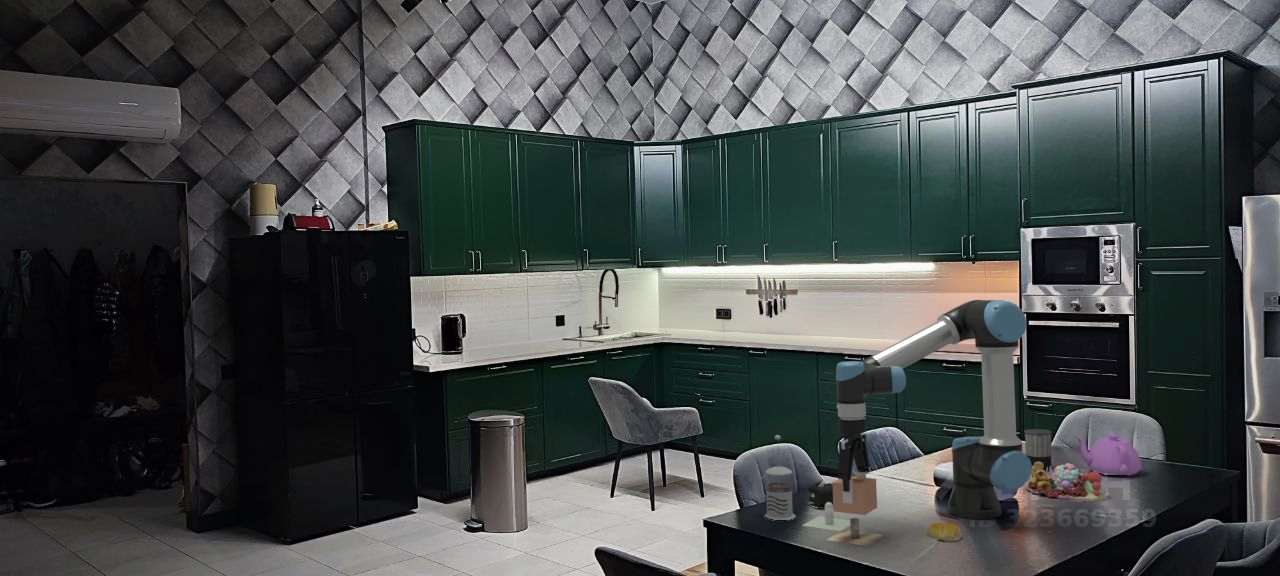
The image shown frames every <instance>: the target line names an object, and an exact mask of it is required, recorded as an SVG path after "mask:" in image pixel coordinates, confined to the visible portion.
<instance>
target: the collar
mask: <svg viewBox="0 0 1280 576" xmlns="http://www.w3.org/2000/svg"><path fill="white" fill-rule="evenodd" d="M851 479H852V480H853V504H849V503H843V491H842V479H838V478H837V480H834V481H832V483H831V484H833V513H843V514H844V513H845V514H851V515H852V514H853V515H858V516H859V515H861V516H866V515H868V514H870V513H871V512H873V511H874V510H875V509H877V508H878V495H877V478H871V477H866V478H862V477H856V476H852V475H851Z"/></svg>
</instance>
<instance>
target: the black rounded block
mask: <svg viewBox="0 0 1280 576" xmlns="http://www.w3.org/2000/svg"><path fill="white" fill-rule="evenodd" d="M807 489H808V493H810V494H812V495H813V496H811V495H809V496H808V501H809V502H810V503H809V506H810V505H812V506H815V507H818V508H817V509H820V508H821V507H822V508H825V504H826V503H827V502H830V503H832V504H833V483H829V482H827V483H823V485H822V486H820V485H817V484H814V485H810V486H808V488H807ZM812 506H811V507H812ZM815 507H814V508H815Z"/></svg>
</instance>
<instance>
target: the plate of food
mask: <svg viewBox="0 0 1280 576" xmlns="http://www.w3.org/2000/svg"><path fill="white" fill-rule="evenodd" d="M1043 466H1044V464H1043V462H1035V463H1034V465H1033V466H1032V470H1031V475H1030V476H1031V479H1030V480H1029V482H1028V484H1027V486H1026V487H1025V489H1026V490H1028V491H1029V492H1030V493H1032V494H1037V496H1041V495H1045V496H1046V498H1056V499H1061V500H1063V499H1071V500H1075V501H1085V502H1086V501H1087V502H1090V501H1091V502H1093V501H1102V500H1106V499H1108V498H1109V497H1110V492H1108V490H1106V488H1105V486H1104V485H1103V484H1102V480H1103V479H1102V474H1099V473H1098V472H1093V471H1091V472H1084V473H1082V471H1081V470H1080V469H1078V468H1076V466H1075V465H1074V464H1073V463H1069V462H1067V463H1064V464H1060V465H1057V466H1054V470H1053V468H1052V469H1051V466H1050V471H1048V466H1047V469H1046V472H1045V470H1043ZM1047 471H1048V472H1049V473H1048V472H1047Z"/></svg>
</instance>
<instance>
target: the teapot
mask: <svg viewBox="0 0 1280 576" xmlns="http://www.w3.org/2000/svg"><path fill="white" fill-rule="evenodd" d="M1073 437H1074V438H1076V439H1077V440H1078V443H1079V446H1080V455H1081V456H1080V457H1081V458H1082V459H1083V461H1084V462H1085V463H1086V465H1087V466H1088V467H1089V469H1090V470H1091V469H1093V470H1095V471H1098V472H1102V473H1107V474H1116V475H1129V474H1135V475H1137V474H1138V473H1139V472H1140V471H1141V470H1142V460H1141V458H1140V455H1139V452H1137V450H1136V449H1135V447H1134V445H1133V444H1132V443H1131V441H1129V440H1127V439H1122V438H1119V434H1114V433H1112V434H1107V437H1103V438H1098V439H1097V440H1096V441H1095V443H1093V446H1092V447H1091V448H1090V451H1088V448H1087V442H1086V441H1085V439H1084V438H1083V437H1080V436H1076V435H1073ZM1136 473H1137V474H1136Z"/></svg>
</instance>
